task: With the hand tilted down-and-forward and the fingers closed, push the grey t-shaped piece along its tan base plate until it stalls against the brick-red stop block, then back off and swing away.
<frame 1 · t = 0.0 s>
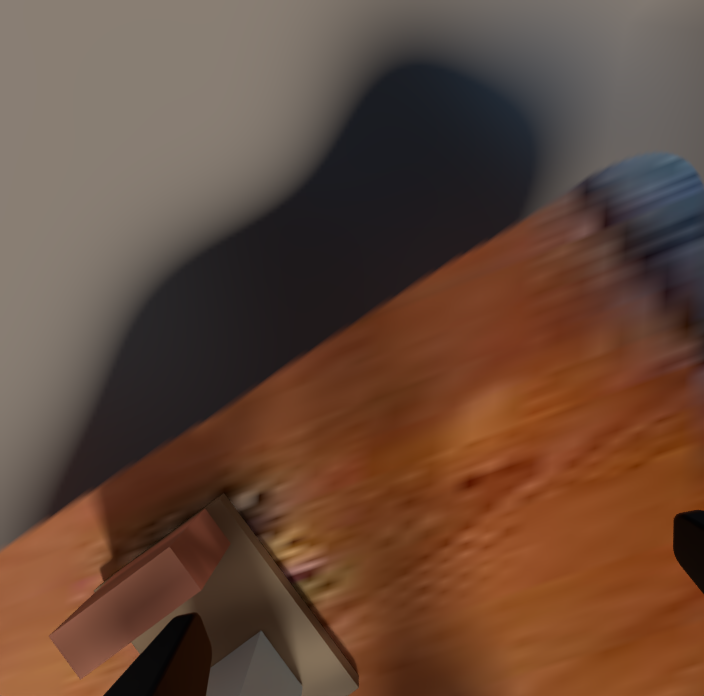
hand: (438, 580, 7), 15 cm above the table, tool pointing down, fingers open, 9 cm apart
tan base plate: (257, 666, 22), on the table
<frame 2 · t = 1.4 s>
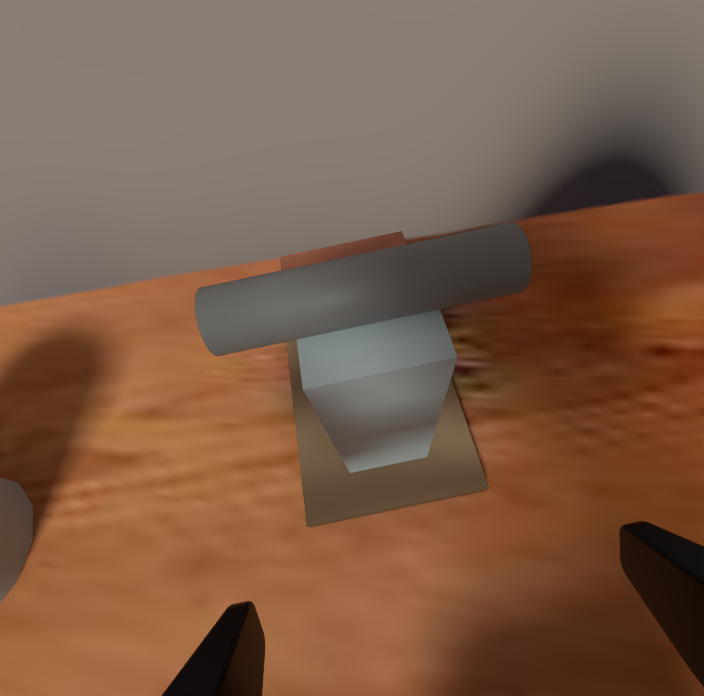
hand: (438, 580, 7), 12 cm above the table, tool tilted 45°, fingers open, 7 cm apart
tan base plate: (380, 432, 21), on the table
grey t-shaped piece: (373, 377, 15), point 7 cm above the table, slide at 0.0 cm
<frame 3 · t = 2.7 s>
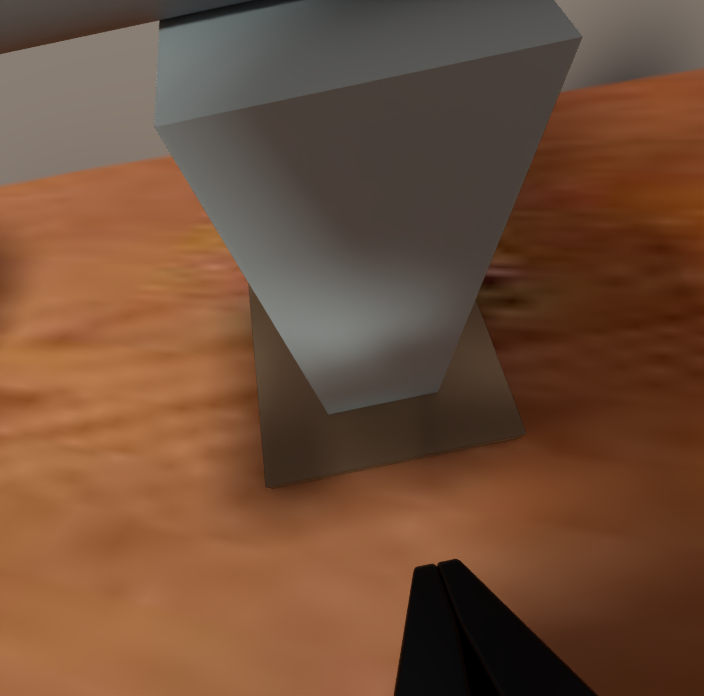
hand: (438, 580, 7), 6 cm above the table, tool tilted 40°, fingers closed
tan base plate: (372, 361, 15), on the table
grey t-shaped piece: (360, 242, 8), point 7 cm above the table, slide at 0.0 cm
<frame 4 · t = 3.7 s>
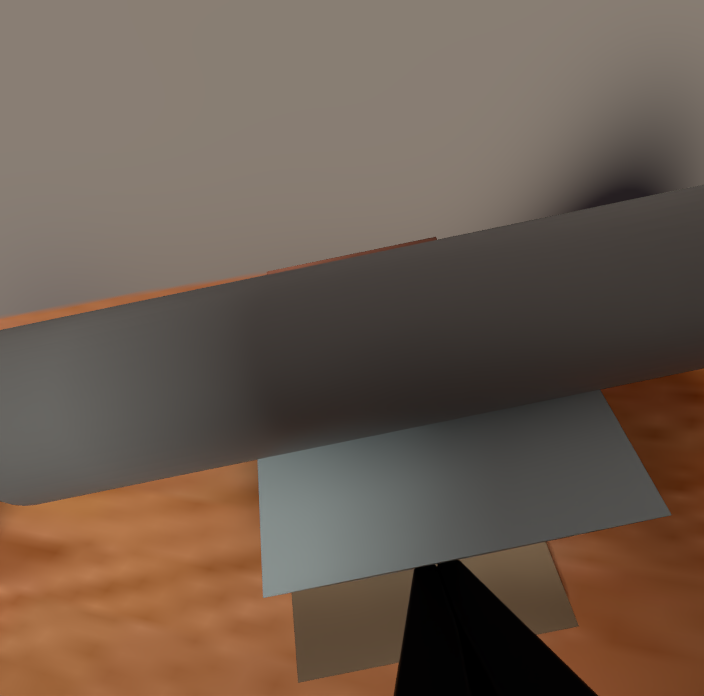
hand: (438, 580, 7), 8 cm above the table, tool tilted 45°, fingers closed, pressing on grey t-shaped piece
tan base plate: (406, 520, 15), on the table
grey t-shaped piece: (407, 465, 9), point 7 cm above the table, slide at 0.4 cm, touching gripper
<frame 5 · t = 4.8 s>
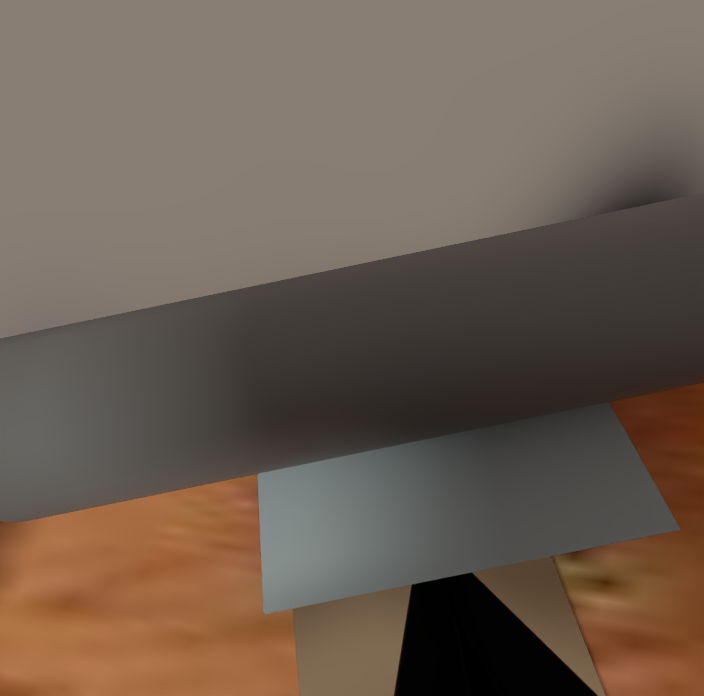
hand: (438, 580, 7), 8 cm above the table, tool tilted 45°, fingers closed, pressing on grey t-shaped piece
tan base plate: (440, 670, 12), on the table
grey t-shaped piece: (408, 466, 9), point 7 cm above the table, slide at 5.0 cm, touching tan base plate, gripper
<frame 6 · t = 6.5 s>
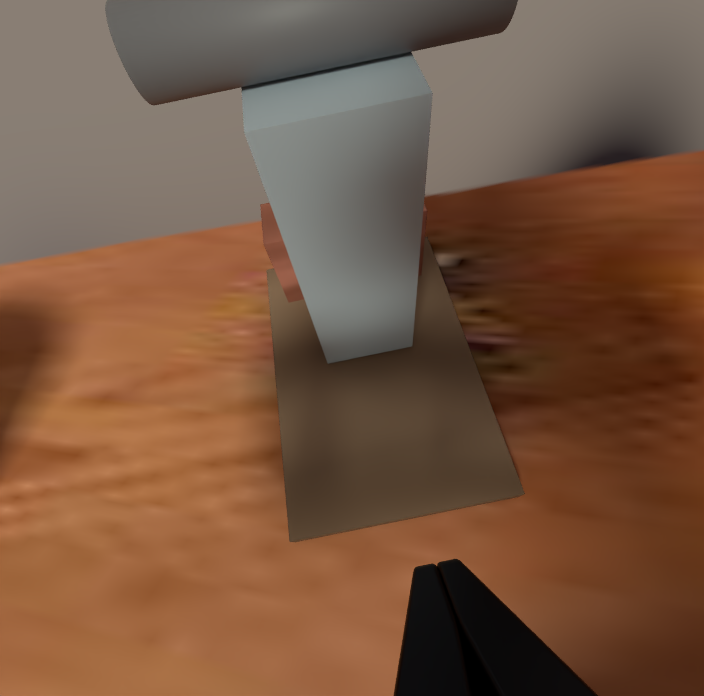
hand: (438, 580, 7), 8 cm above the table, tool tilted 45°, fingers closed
tan base plate: (384, 422, 17), on the table
grey t-shaped piece: (347, 218, 13), point 7 cm above the table, slide at 5.0 cm, touching tan base plate
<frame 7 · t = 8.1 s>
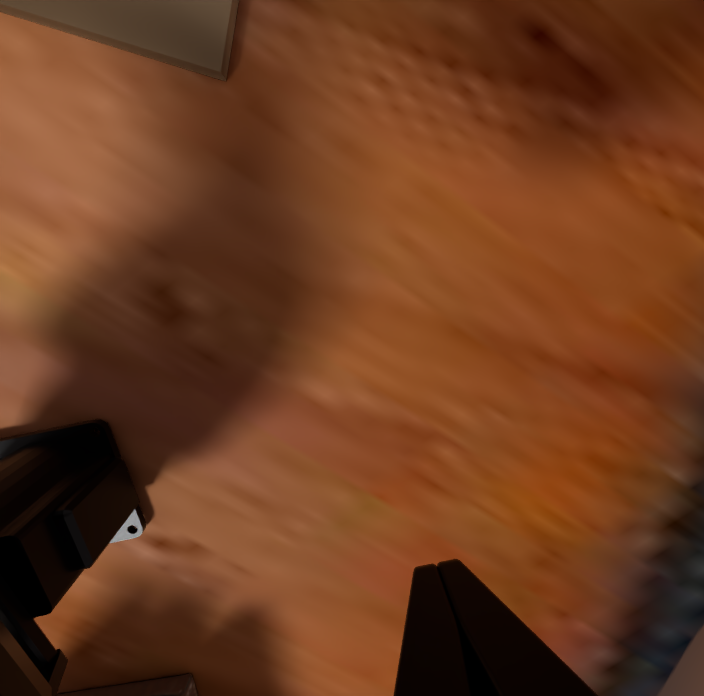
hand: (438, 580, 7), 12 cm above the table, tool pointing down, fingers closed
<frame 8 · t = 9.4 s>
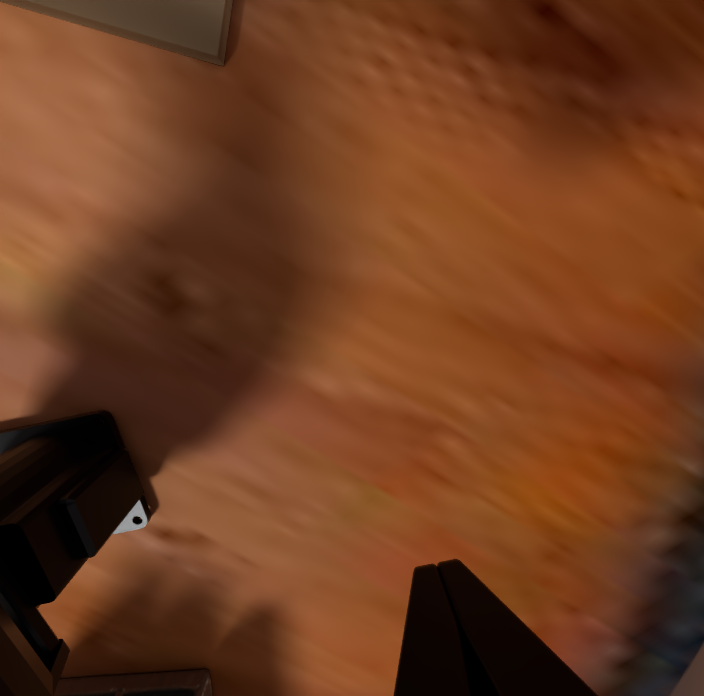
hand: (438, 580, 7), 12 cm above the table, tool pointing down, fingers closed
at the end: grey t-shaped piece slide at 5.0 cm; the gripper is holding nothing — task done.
